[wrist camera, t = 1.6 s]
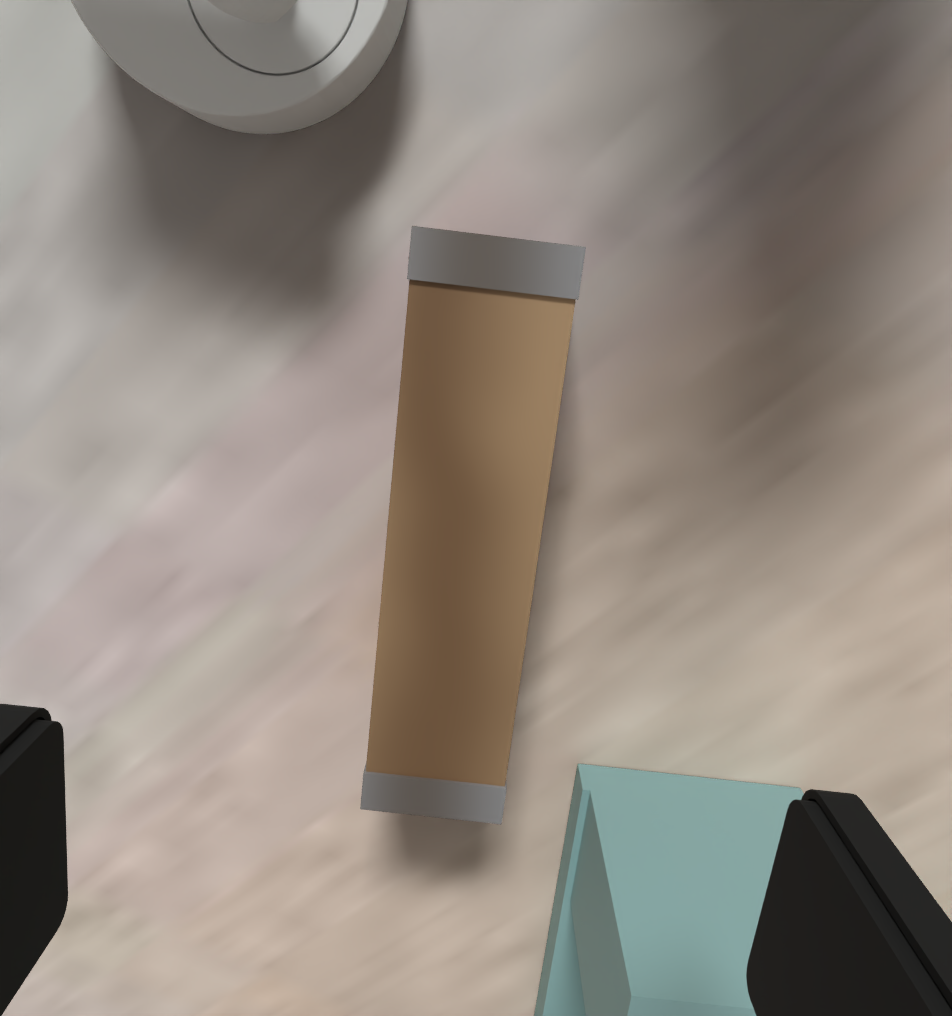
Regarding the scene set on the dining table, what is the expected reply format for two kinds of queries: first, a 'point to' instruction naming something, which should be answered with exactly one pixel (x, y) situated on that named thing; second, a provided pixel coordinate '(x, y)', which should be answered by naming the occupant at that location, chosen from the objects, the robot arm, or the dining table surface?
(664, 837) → the slotted posts
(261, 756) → the dining table surface
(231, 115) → the grey tilting stand
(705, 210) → the dining table surface
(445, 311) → the brown rectangular bar
